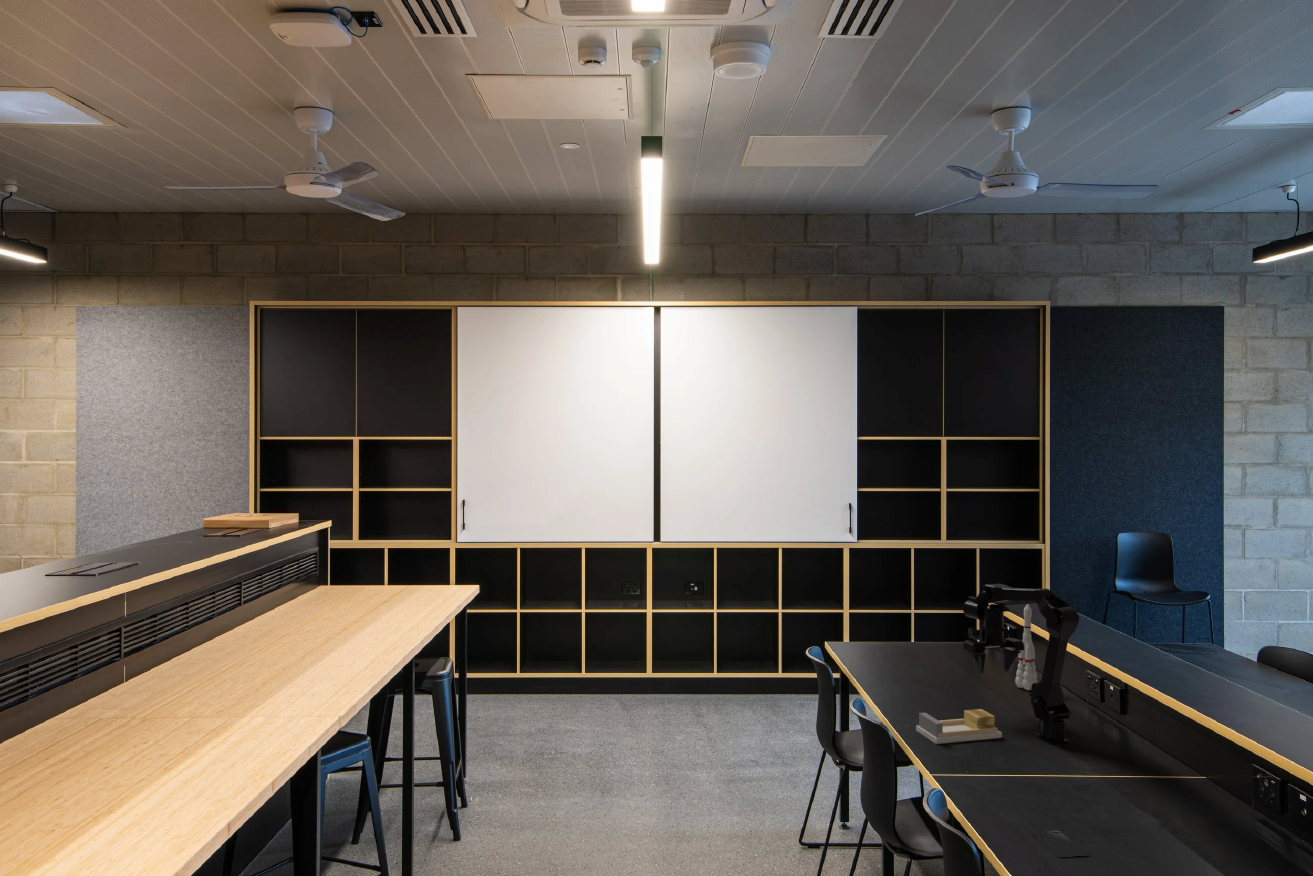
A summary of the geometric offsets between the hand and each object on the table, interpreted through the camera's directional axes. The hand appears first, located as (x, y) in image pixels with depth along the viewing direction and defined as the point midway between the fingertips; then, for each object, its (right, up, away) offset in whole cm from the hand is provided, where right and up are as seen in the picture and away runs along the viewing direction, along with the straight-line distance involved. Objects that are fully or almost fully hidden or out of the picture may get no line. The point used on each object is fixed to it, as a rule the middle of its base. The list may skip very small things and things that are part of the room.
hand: (993, 672), depth 243 cm
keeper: (-11, -11, -16) cm, 23 cm away
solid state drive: (-20, -14, -78) cm, 82 cm away
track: (-18, -13, -17) cm, 28 cm away
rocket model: (+23, -14, +25) cm, 36 cm away
